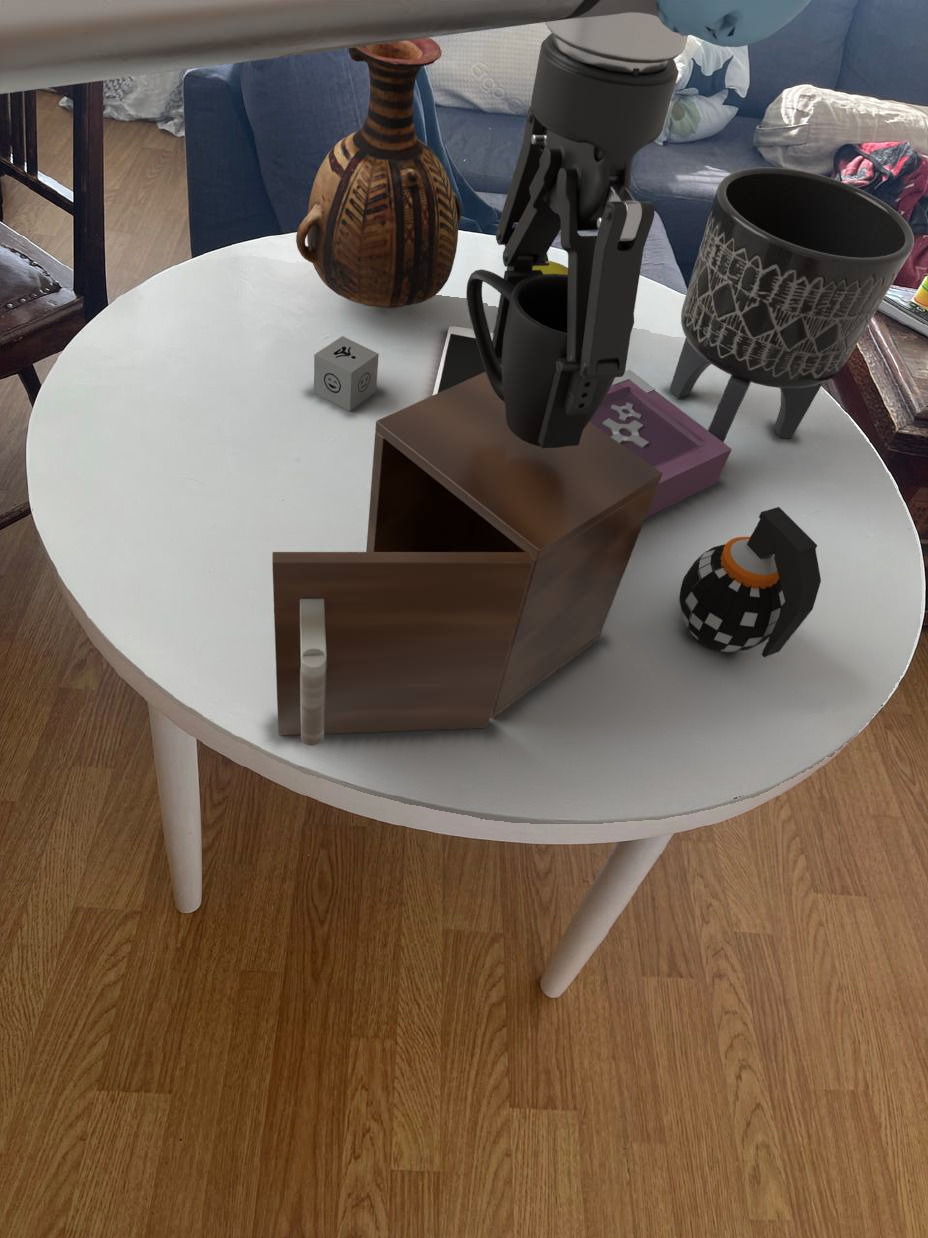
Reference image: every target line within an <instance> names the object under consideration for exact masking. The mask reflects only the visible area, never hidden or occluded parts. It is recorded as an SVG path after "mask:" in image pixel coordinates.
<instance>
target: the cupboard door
mask: <svg viewBox="0 0 928 1238" xmlns="http://www.w3.org/2000/svg"><path fill="white" fill-rule="evenodd" d="M271 555H272V557H271V558H272V559H271V560H272V561H271V562H272V567H271V568H272V590H273V592H272V593H273V595H272V596H273V616H274V617H273V623H274V624H273V625H274V646H275V647H274V648H275V649H274V651H275V653H274V654H275V676H276V678H275V679H276V681H275V682H276V706H277V708H276V709H277V735H278V736H294V735H296V736H297V735H298V736H299V735H300V739H301V741H302V742H303V743H304V744H305V745H308V746H317V745H319V744H321V743H322V742H323V741H324V738H325V734H351V733H380V732H381V733H382V732H383V733H384V732H404V731H405V732H406V731H407V732H409V731H436V730H462V729H463V730H464V729H465V730H467V729H487V728H488V726H489V723H490V719H491V717H490V716H491V712H492V709H493V705H494V701H495V698H496V694H497V690H498V687H499V683H500V679H501V676H502V672H503V668H504V665H505V661H506V658H507V654H508V650H509V647H510V643H511V639H512V636H513V632H514V628H515V625H516V621H517V618H518V614H519V610H520V607H521V603H522V599H523V596H524V592H525V588H526V585H527V581H528V578H529V574H530V570H531V567H532V563H533V562H532V558H531V554H530V552H366V551H272V553H271Z"/></svg>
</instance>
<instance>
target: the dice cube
mask: <svg viewBox="0 0 928 1238" xmlns="http://www.w3.org/2000/svg"><path fill="white" fill-rule="evenodd" d="M379 355H380V353H378V352H376V351H374V350H372V349H370V348H368V347H366V346H364V345H362V344H360V343H358V342H355V341H353V340H351V339H349V338H348V337H346V336H344V335H342V336H340V337H339V338H337V339H335V340H333V342H331V343H329V344H328V345H327V346H325V347H323V348H322V349H320V350H319V351H318V352H316V353H314V354H313V356H314V358H313V360H314V361H313V394H315V395H317V396H319V397H320V398H323V399H324V400H327V401H329V402H331V403H332V404H334V405H337V406H338V407H340V408H342V409H345V410H346V411H348V412H351V411H352V410H354V409H355V408H356V407H358V406H359V405H361V404H362V403H363V402H364V401H366V400H367V399H368V398H370V397H371V396H373V394H375V393H377V385H378V372H379V371H378V369H379V357H380V356H379Z"/></svg>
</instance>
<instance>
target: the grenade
mask: <svg viewBox="0 0 928 1238" xmlns="http://www.w3.org/2000/svg"><path fill="white" fill-rule="evenodd" d="M758 518H759V521H758V523H757V524H756V526H755V528H754V530H753V532H752V533H751V536H737V537H734V538H731V539H729V540H728V541H726V543H724V544H720V545H716V546H713V547H711V548H709V549H708V550H706V551H704V552H703V553H702V554H701V555H700V556H699V557H698V558H697V559H695V560H694V562H693V563H692V565H691V566H690V567H689V569H688V570H687V572H686V573H685V575H684V577H683V579H682V582H681V585H680V589H679V595H678V604H679V612H680V616H681V620H682V621H683V623H684V625H685V626H686V628H687V630H688V631H689V633H690V635H691V636H692V637H693V638H694V640H695V641H696V642H697V643H698V644H699V645H700V646H703V647H704V648H706V649H708V650H710V651H713V652H717V653H725V652H726V653H733V652H734V653H735V652H741V651H742V652H743V651H747V650H748V651H749V650H751V649H753V648H755V647H757V646H759V645H762V643H764V642H766V641H767V642H766V643H765V646H764V648H763V650H762V652H761V656H762V657H763V658H767V657H769V656H772V655H775V654H777V653H780V652H781V650H782V649H783V648H784V647H785V645H786V644H787V642H788V641H789V640H790V639H791V637H792V636H793V635H794V634H795V632H796V631H797V630H798V629H799V627H800V626H801V625H802V624H803V623H804V621H805V620H806V619H807V617H808V616H809V615H810V614H811V612H812V611H813V609H814V606H815V603H816V599H817V596H818V592H819V590H820V586H821V584H822V583H821V582H822V579H821V572H820V567H819V562H818V561H819V560H818V555H817V547H818V546H819V545H818V544H817V543H816V542H815V541H814V540H813V539H812V538H811V537H810V536H809V535H808V534H807V533H806V532H805V531H804V530H803V529H802V528H801V527H800V526H799V525H798V524H797V522H795V521H794V520H793V519H792V517H790V516H789V515H788V514H787V513H786V512H785V511H784V510H783V509H782V508H781V507H780V506H777V507H773V508H769V509H766V510H764V511H760V513H759V515H758Z"/></svg>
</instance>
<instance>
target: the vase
mask: <svg viewBox="0 0 928 1238" xmlns="http://www.w3.org/2000/svg"><path fill="white" fill-rule="evenodd" d="M442 52H443V51H442V49H441V46H440V45H439V43H438V42H436V41H435V40H434V39H432V37H429V38H421V39H414V40H406V41H399V42H391V43H383V44H376V45H368V46H361V47H353V48H348V53H349V57H350V58H351V60H352V61H354V62H358V63H359V62H364V63H366V64H367V68H368V74H369V75H368V76H369V101H368V109H367V114H366V118H365V120H364V122H363V124H362V126H361V128H360V129H359V130H356V131H355V132H352V133H351V134H348V135H347V136H345V137H344V138H342V139H341V140H339V141H338V142H336V144H335V145H334V146H332V148H331V149H330V151H328V153H327V155H326V156H325V158H324V160H323V161H322V163H321V164H320V167H319V168H318V171H317V173H316V176H315V178H314V180H313V184H312V187H311V192H310V197H309V200H308V201H309V202H308V208H307V209H308V210H307V214H306V216H305V217H304V219H303V220H302V221H301V223H300V224H299V226H298V228H297V231H296V235H295V236H296V237H295V243H296V248H297V250H298V252H299V254H300V256H301V257H302V258H303V259H304V260H306V261H307V262H309V263H311V264H312V266H313V267H314V269H315V271H316V273H317V275H318V277H319V278H320V280H321V281H322V282H323V284H324V285H325V286H326V287H328V288H329V289H330V290H331V291H333V292H334V293H335V294H337V295H338V296H340V297H342V298H344V299H346V300H348V301H351V302H352V303H353V302H354V303H356V304H360V305H363V306H367V307H373V308H379V309H380V308H383V309H391V308H393V309H394V308H403V307H408V306H413V305H417V304H420V303H423V302H426V301H428V300H430V299H433V298H434V297H435V296H437V295H438V293H440V291H441V290H443V288H444V286H445V285H446V283H447V282H448V281H449V278H450V276H451V273H452V271H453V267H454V263H455V259H456V254H457V248H458V242H459V224H460V221H461V217H462V207H461V203H460V198H459V197H458V196H457V195H456V192H455V191H454V190H453V187H452V183H451V181H450V178H449V175H448V173H447V171H446V169H445V167H444V165H443V163H442V161H441V160H440V158H439V157H438V156H437V155H436V153H435V152H434V150H432V149H431V148H430V147H429V146H428V145H427V144H426V143H424V142H423V141H421V140H420V139H418V136H417V133H416V130H415V129H416V128H415V122H414V93H415V84H416V80H417V76H418V74H419V72H420V70H421V68H422V67H425V66H426V67H427V66H430V65H432V64H434V63H435V62H436V61H438V60H440V59H441V57H442V54H443V53H442ZM306 240H307V241H306ZM306 242H307V245H306Z"/></svg>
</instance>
